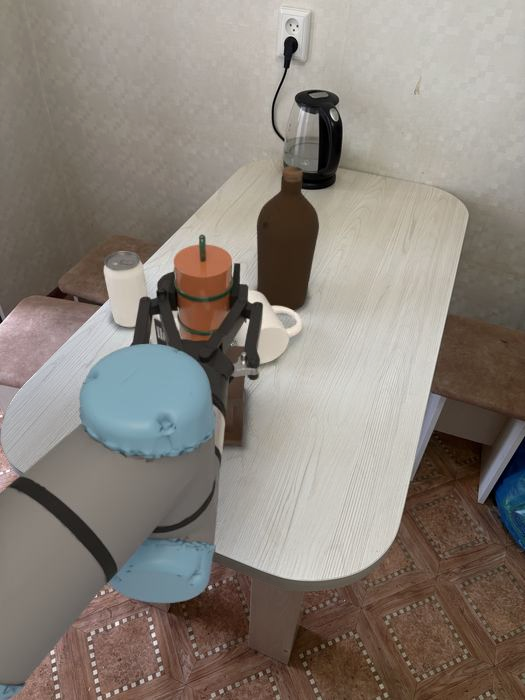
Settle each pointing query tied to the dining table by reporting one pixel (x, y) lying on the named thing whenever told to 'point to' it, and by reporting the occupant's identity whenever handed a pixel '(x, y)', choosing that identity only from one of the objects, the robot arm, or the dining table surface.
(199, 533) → the robot arm
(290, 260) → the olive oil
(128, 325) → the can
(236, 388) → the stand
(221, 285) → the banded candle
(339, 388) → the dining table surface
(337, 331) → the dining table surface
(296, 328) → the mug
